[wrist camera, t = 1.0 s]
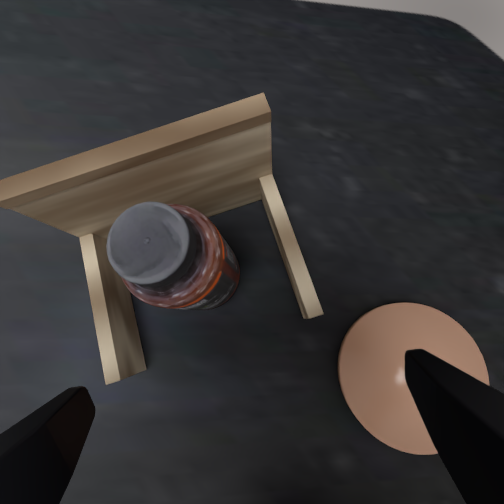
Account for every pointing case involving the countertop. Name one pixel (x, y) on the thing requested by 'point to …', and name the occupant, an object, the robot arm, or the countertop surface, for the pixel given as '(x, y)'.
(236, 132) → the wooden bench
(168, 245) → the supplement bottle
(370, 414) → the peach rounded disc
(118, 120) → the countertop surface
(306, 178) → the countertop surface
